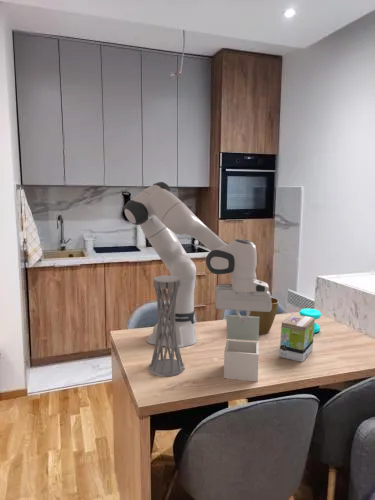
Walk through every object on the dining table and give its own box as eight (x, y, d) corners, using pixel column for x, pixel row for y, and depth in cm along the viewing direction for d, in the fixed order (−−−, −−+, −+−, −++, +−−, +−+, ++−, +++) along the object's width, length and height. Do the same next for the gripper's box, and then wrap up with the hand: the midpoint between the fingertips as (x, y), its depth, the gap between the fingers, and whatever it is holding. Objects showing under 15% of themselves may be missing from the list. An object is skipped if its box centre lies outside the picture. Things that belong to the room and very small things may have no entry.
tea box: (303, 362, 151) (305, 326, 149) (278, 357, 156) (280, 322, 154) (313, 350, 163) (315, 316, 161) (290, 345, 169) (291, 312, 167)
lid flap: (226, 315, 141) (226, 314, 141) (226, 338, 147) (227, 337, 148) (259, 317, 139) (259, 316, 139) (258, 341, 145) (258, 339, 146)
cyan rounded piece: (323, 309, 188) (318, 315, 179) (322, 329, 189) (317, 335, 181) (302, 306, 193) (297, 311, 184) (301, 325, 194) (296, 331, 186)
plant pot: (259, 339, 176) (260, 305, 173) (240, 329, 188) (240, 297, 186) (284, 333, 183) (285, 301, 181) (263, 324, 196) (264, 294, 193)
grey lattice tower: (149, 361, 151) (148, 274, 146) (183, 360, 152) (183, 274, 147) (148, 377, 138) (147, 282, 133) (185, 376, 139) (185, 282, 134)
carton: (223, 378, 137) (224, 351, 136) (226, 364, 149) (226, 339, 148) (257, 381, 135) (258, 354, 134) (257, 366, 147) (258, 341, 146)
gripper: (213, 285, 136) (213, 322, 138) (272, 287, 132) (271, 326, 134) (215, 281, 142) (215, 317, 144) (272, 283, 139) (270, 320, 140)
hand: (242, 321), depth 139 cm, fingers closed, pressing on lid flap
